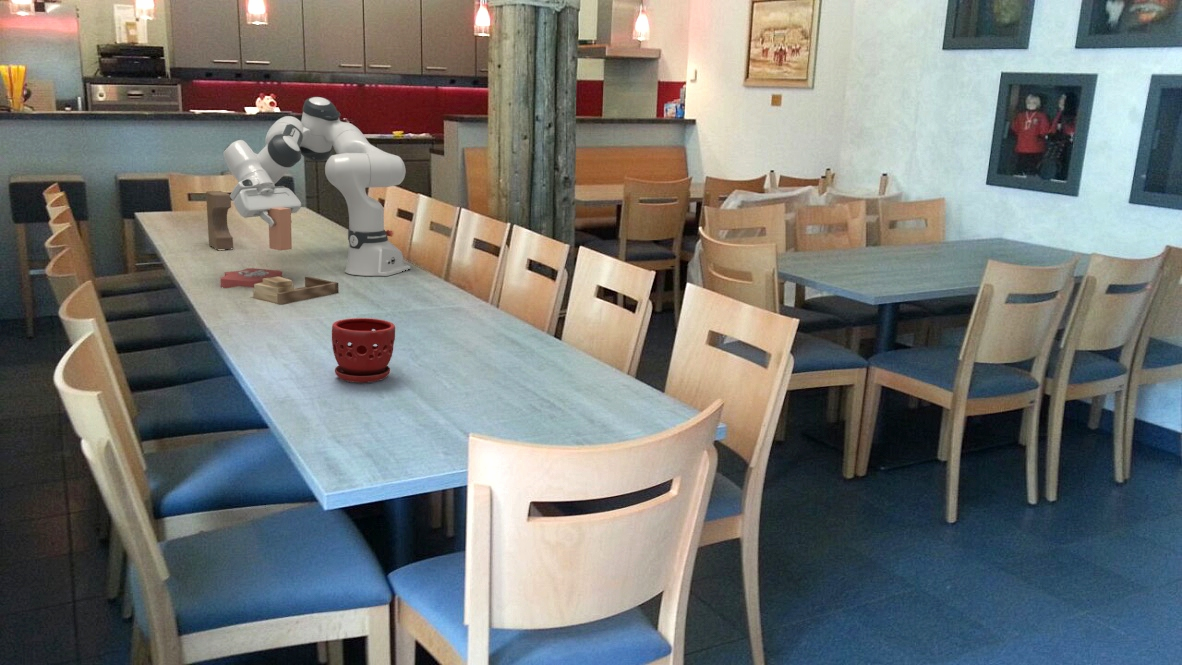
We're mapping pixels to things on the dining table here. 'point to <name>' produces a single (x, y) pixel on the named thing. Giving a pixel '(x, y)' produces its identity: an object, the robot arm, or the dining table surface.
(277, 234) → the salmon orange upright block
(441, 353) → the dining table surface
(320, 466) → the dining table surface
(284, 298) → the brown wooden tray
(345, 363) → the plant pot
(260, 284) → the offcut stack
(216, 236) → the decorative block
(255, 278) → the plaque
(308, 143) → the robot arm
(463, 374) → the dining table surface
